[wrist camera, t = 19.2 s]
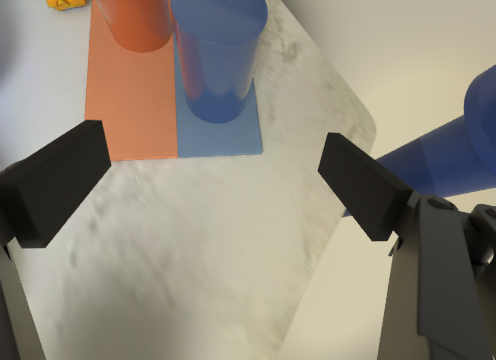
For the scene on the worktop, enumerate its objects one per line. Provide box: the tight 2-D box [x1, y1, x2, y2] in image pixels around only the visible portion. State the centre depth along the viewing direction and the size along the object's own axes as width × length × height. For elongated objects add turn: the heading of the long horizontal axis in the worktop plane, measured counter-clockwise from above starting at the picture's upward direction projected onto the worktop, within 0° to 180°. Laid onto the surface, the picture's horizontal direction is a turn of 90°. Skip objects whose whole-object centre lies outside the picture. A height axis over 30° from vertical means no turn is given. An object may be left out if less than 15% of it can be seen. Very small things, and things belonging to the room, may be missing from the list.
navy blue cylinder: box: [170, 0, 268, 124], centre depth 22 cm, size 7×7×11 cm
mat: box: [84, 0, 262, 161], centre depth 28 cm, size 18×21×1 cm
